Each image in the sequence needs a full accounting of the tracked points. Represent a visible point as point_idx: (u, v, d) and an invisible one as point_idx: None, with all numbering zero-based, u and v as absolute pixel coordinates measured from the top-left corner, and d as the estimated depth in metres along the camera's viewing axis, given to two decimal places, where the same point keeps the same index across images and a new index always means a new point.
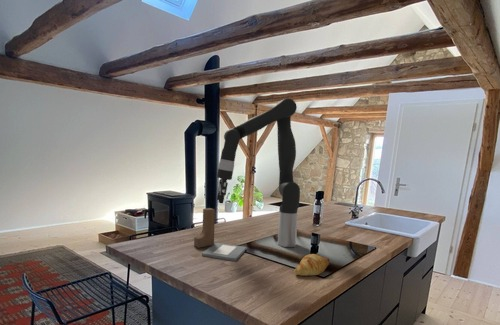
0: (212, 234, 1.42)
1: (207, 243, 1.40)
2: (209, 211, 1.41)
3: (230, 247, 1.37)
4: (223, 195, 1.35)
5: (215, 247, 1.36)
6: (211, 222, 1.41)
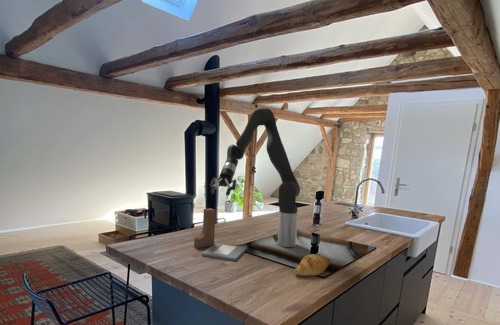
0: (212, 234, 1.42)
1: (207, 243, 1.40)
2: (210, 212, 1.40)
3: (230, 247, 1.37)
4: (212, 186, 1.58)
5: (215, 247, 1.36)
6: (211, 223, 1.41)
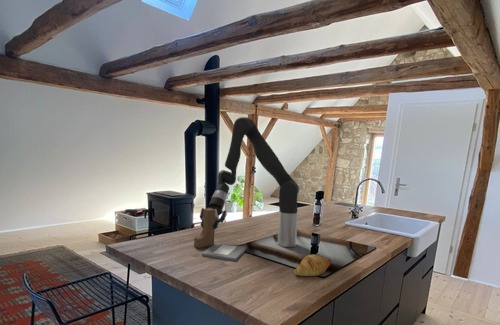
0: (212, 234, 1.42)
1: (207, 243, 1.40)
2: (209, 211, 1.40)
3: (230, 247, 1.37)
4: (202, 219, 1.46)
5: (215, 247, 1.36)
6: (211, 223, 1.41)
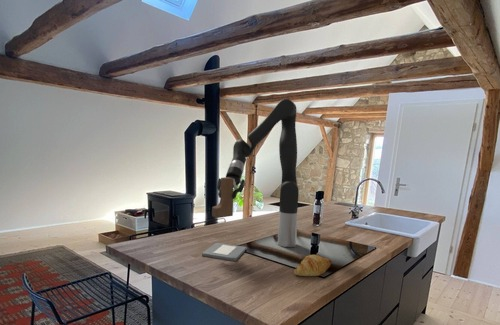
0: (231, 204, 1.34)
1: (225, 214, 1.33)
2: (228, 180, 1.33)
3: (230, 247, 1.37)
4: (219, 189, 1.38)
5: (215, 247, 1.36)
6: (230, 192, 1.34)
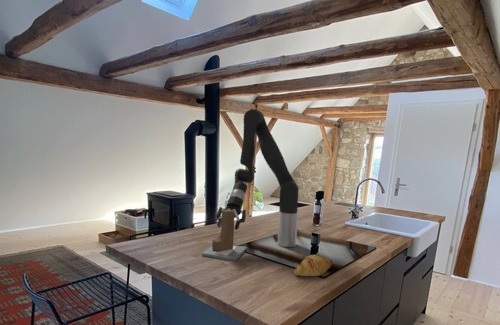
0: (231, 237, 1.34)
1: (226, 247, 1.32)
2: (229, 213, 1.32)
3: None
4: (218, 218, 1.38)
5: None
6: (230, 225, 1.33)
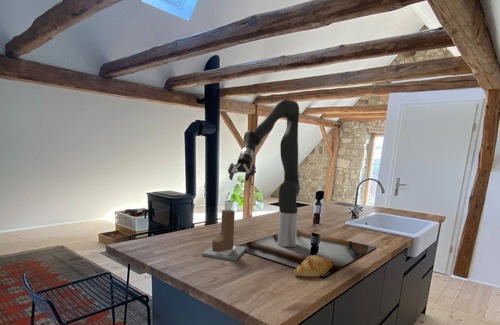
0: (231, 237, 1.34)
1: (226, 247, 1.32)
2: (229, 213, 1.32)
3: None
4: (230, 172, 1.53)
5: None
6: (230, 225, 1.33)
